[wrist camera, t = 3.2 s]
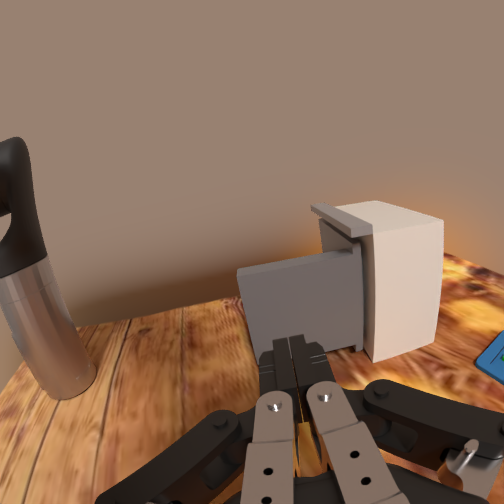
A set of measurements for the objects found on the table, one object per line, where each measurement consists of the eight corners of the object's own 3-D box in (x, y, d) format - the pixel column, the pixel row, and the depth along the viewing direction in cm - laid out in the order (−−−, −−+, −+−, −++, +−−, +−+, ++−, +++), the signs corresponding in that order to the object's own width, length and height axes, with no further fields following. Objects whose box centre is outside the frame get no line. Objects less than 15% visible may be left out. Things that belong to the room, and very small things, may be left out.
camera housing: (355, 368, 25) (350, 228, 21) (319, 296, 43) (307, 203, 39) (433, 342, 25) (443, 211, 21) (376, 283, 42) (370, 193, 38)
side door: (259, 371, 27) (234, 265, 24) (257, 313, 39) (240, 233, 36) (362, 349, 26) (360, 242, 23) (332, 298, 39) (324, 218, 36)
